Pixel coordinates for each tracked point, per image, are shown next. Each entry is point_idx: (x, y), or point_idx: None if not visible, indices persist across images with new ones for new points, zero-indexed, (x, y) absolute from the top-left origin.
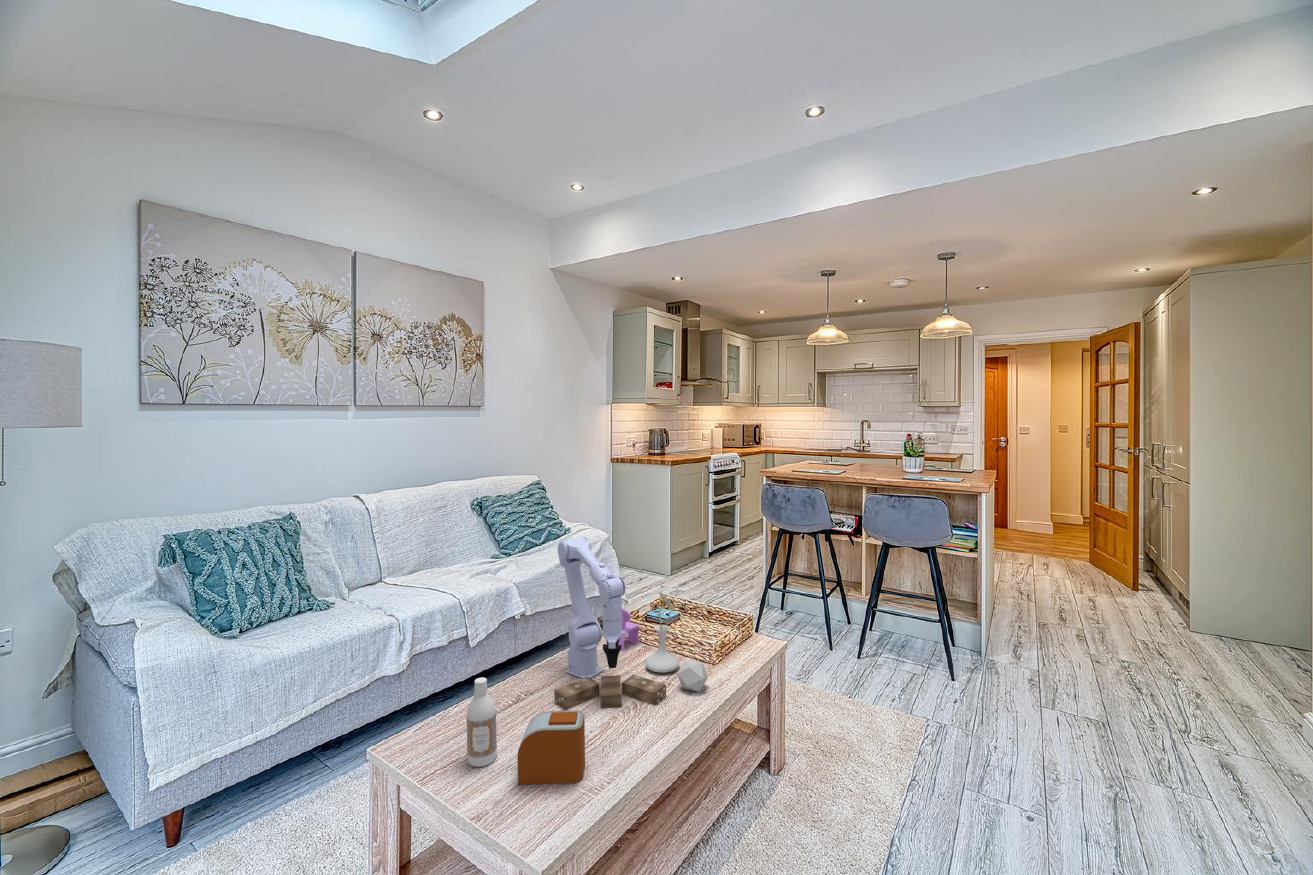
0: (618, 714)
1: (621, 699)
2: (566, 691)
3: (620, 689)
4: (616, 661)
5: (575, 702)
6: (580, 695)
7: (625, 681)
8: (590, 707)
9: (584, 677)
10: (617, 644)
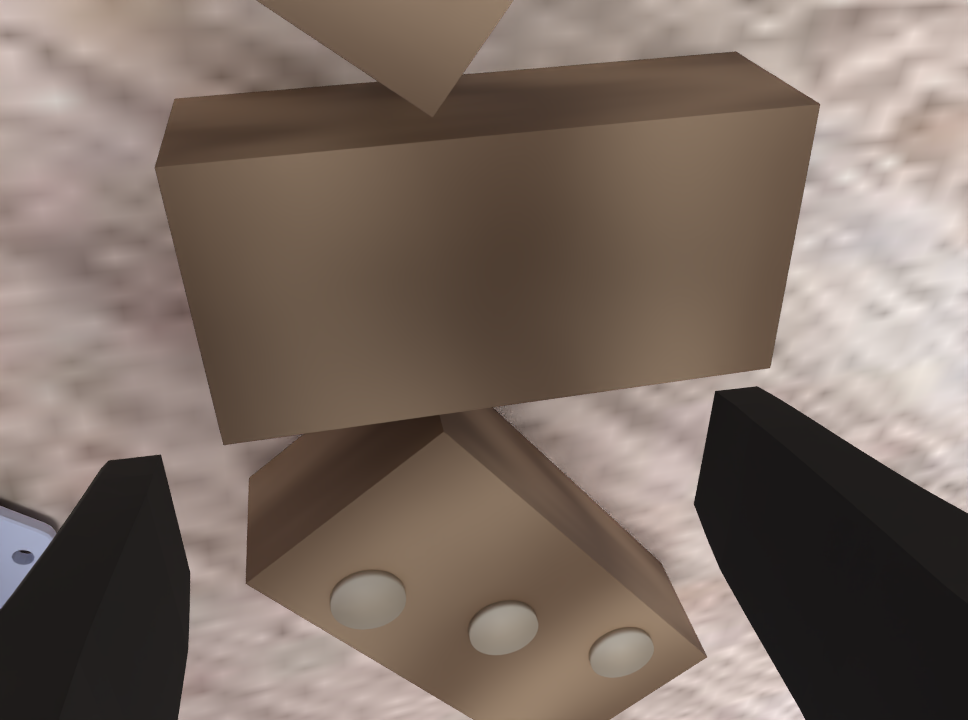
0: (882, 85)
1: (786, 83)
2: (590, 678)
3: (662, 129)
4: (878, 472)
5: (616, 535)
6: (596, 541)
7: (396, 55)
8: (663, 388)
9: (20, 561)
10: (81, 699)
